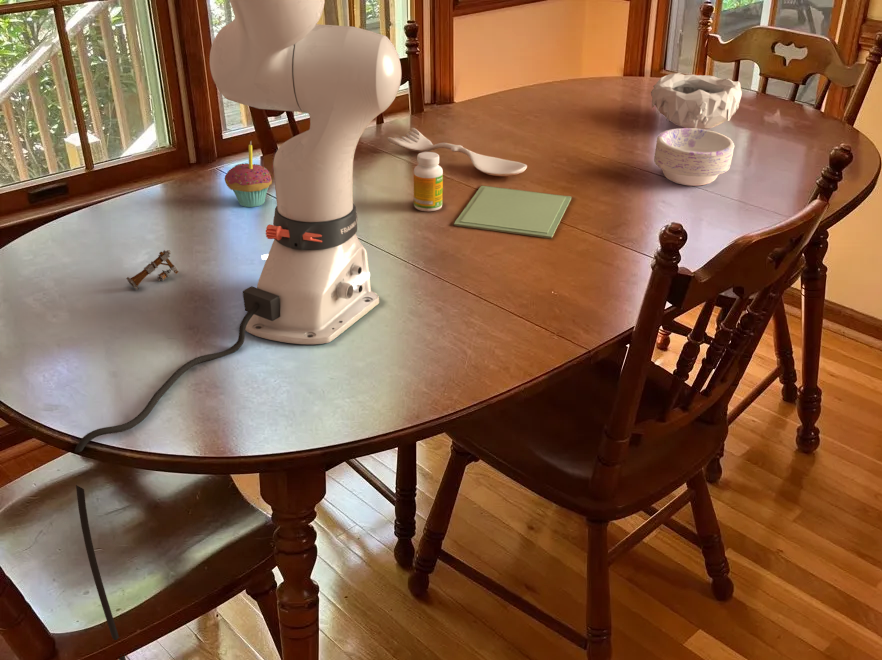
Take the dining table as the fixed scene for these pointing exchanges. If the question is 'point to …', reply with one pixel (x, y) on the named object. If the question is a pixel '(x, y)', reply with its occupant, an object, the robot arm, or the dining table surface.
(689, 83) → the bowl
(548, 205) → the placemat
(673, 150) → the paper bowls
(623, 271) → the dining table surface
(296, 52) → the robot arm
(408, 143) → the white spork utensil
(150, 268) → the wooden post with brackets
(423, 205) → the supplement bottle
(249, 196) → the cupcake
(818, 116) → the dining table surface
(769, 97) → the dining table surface
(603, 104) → the dining table surface
